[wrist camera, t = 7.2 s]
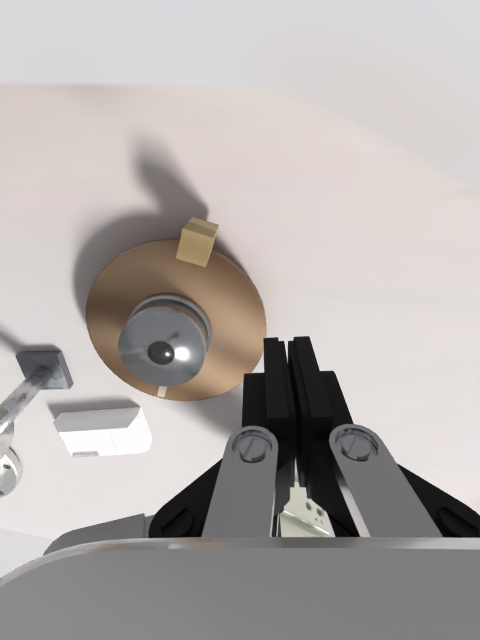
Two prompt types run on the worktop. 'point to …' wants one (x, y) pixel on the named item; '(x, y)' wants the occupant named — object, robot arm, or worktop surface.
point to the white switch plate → (104, 432)
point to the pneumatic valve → (301, 515)
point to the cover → (165, 339)
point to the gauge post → (31, 388)
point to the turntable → (195, 283)
